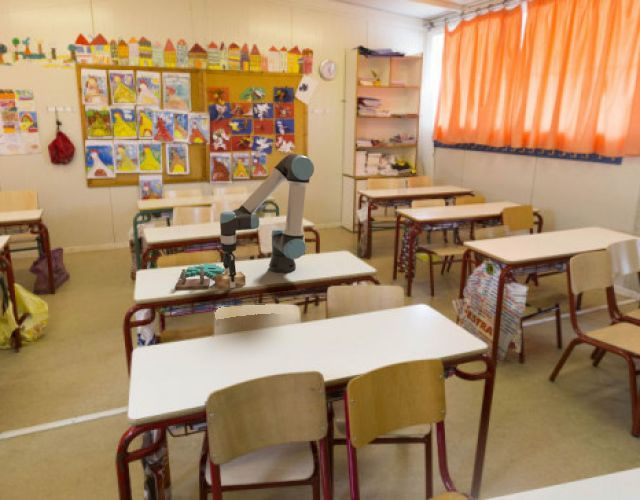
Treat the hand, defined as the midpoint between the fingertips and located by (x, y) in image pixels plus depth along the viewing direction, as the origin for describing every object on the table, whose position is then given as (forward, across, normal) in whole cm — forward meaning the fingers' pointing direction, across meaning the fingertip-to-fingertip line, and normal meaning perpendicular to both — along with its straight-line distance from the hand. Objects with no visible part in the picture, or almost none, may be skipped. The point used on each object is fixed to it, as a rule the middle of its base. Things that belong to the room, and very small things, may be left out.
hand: (230, 283), depth 250 cm
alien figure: (+1, -23, -9) cm, 25 cm away
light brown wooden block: (0, 0, 0) cm, 0 cm away
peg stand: (0, -5, -18) cm, 18 cm away
